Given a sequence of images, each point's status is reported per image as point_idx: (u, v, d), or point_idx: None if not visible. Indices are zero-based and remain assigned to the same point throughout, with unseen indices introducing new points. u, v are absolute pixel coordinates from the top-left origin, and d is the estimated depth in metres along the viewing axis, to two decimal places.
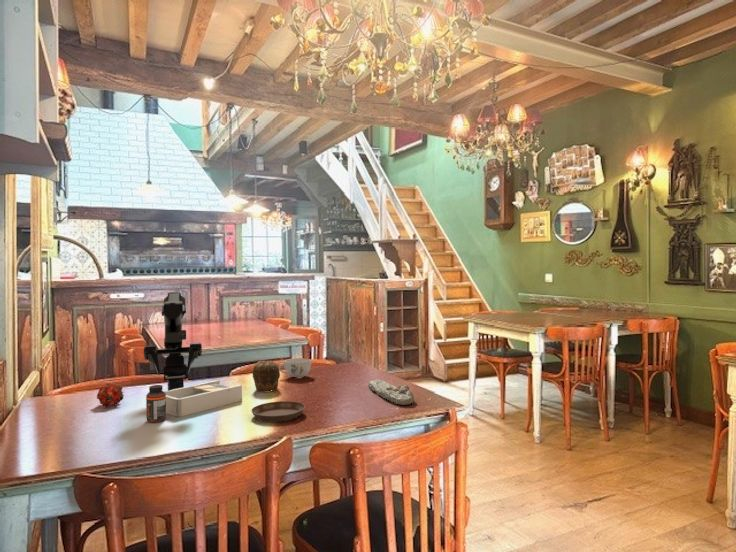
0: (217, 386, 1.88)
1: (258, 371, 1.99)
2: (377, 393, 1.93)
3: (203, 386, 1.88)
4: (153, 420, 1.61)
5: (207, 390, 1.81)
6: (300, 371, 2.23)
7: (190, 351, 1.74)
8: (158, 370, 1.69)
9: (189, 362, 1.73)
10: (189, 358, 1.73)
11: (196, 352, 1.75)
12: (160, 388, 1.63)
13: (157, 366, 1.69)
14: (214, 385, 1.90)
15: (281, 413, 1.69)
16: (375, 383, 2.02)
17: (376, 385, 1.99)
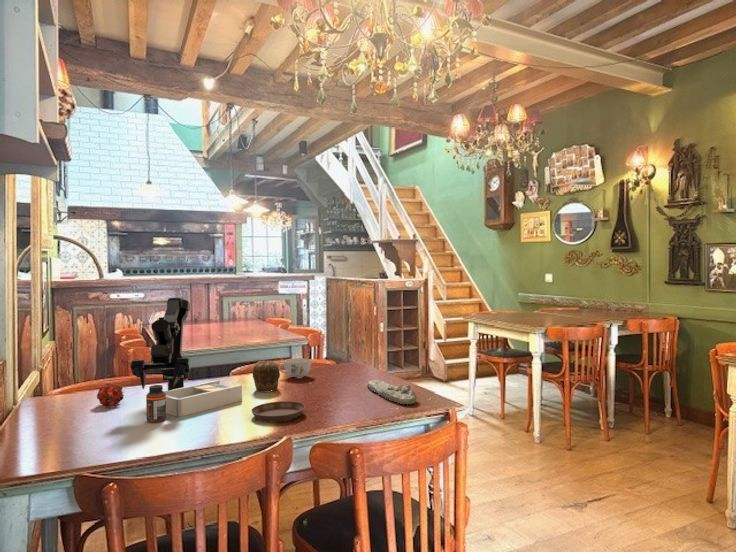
0: (217, 386, 1.88)
1: (258, 371, 1.99)
2: (378, 393, 1.93)
3: (203, 386, 1.88)
4: (153, 420, 1.61)
5: (207, 390, 1.81)
6: (300, 371, 2.23)
7: (176, 365, 1.70)
8: (142, 384, 1.66)
9: (174, 376, 1.69)
10: (175, 372, 1.70)
11: (182, 367, 1.71)
12: (160, 388, 1.63)
13: (142, 380, 1.67)
14: (214, 385, 1.90)
15: (281, 413, 1.69)
16: (374, 383, 2.02)
17: (376, 385, 1.99)
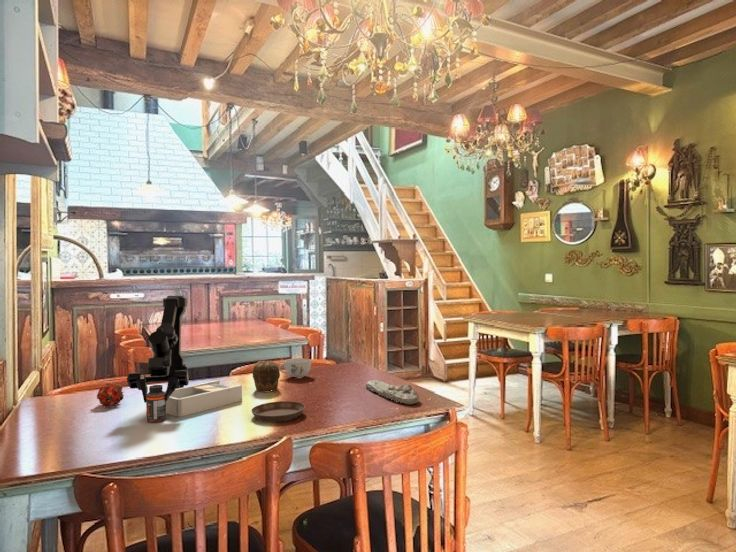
0: (217, 386, 1.88)
1: (258, 371, 1.99)
2: (378, 393, 1.92)
3: (203, 386, 1.88)
4: (153, 420, 1.61)
5: (207, 390, 1.81)
6: (300, 371, 2.23)
7: (169, 378, 1.66)
8: (144, 397, 1.62)
9: (168, 390, 1.64)
10: (168, 386, 1.65)
11: (176, 380, 1.67)
12: (160, 388, 1.63)
13: (144, 393, 1.63)
14: (214, 385, 1.90)
15: (281, 413, 1.69)
16: (373, 383, 2.01)
17: (375, 385, 1.98)
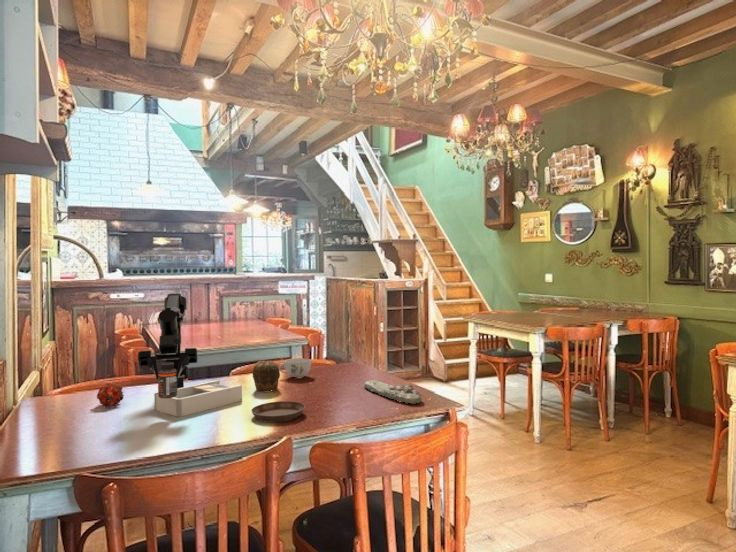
0: (217, 386, 1.88)
1: (258, 371, 1.99)
2: (379, 394, 1.92)
3: (203, 386, 1.88)
4: (166, 396, 1.64)
5: (207, 390, 1.81)
6: (300, 371, 2.23)
7: (180, 356, 1.69)
8: (156, 374, 1.65)
9: (179, 367, 1.68)
10: (179, 363, 1.69)
11: (187, 357, 1.71)
12: (172, 365, 1.66)
13: (155, 370, 1.66)
14: (214, 385, 1.90)
15: (281, 413, 1.69)
16: (372, 384, 2.01)
17: (375, 386, 1.98)
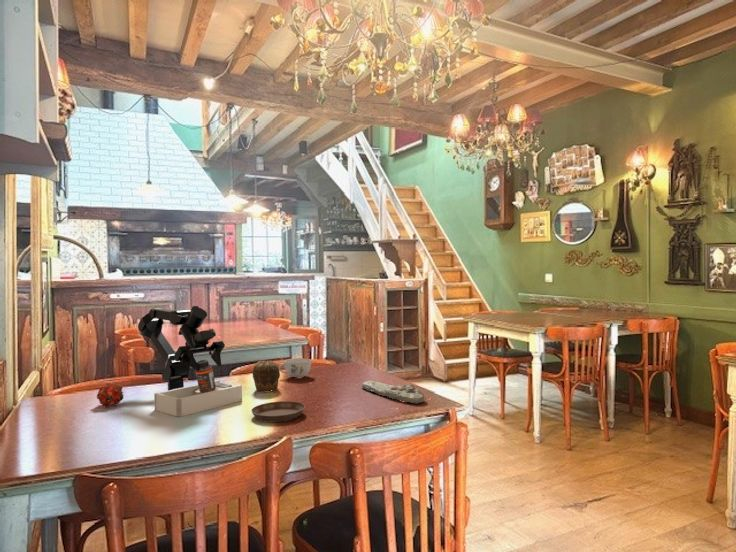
0: (217, 386, 1.88)
1: (258, 371, 1.99)
2: (380, 394, 1.92)
3: None
4: (211, 389, 1.83)
5: None
6: (300, 371, 2.23)
7: (218, 348, 1.90)
8: (197, 366, 1.80)
9: (219, 357, 1.89)
10: (218, 354, 1.89)
11: (221, 349, 1.92)
12: None
13: (195, 363, 1.81)
14: None
15: (281, 413, 1.69)
16: (371, 384, 2.00)
17: (374, 386, 1.98)
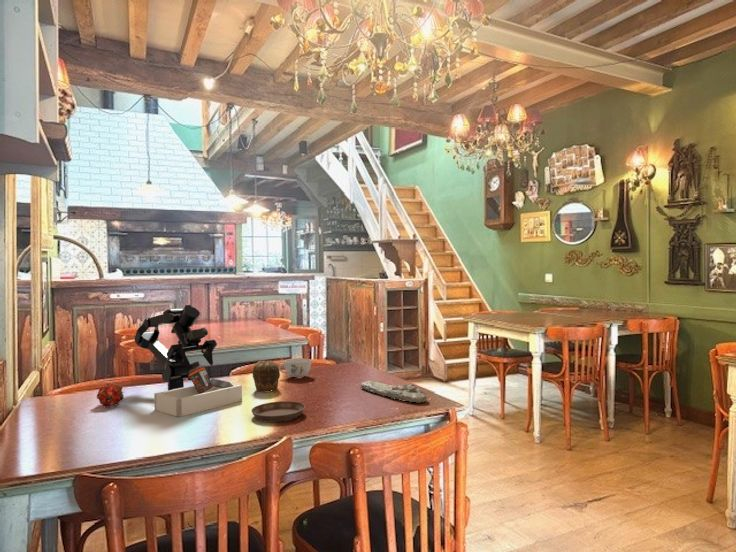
0: (216, 385, 1.88)
1: (258, 371, 1.99)
2: (380, 394, 1.92)
3: (205, 391, 1.88)
4: (206, 387, 1.83)
5: None
6: (300, 371, 2.23)
7: (210, 346, 1.93)
8: (189, 364, 1.84)
9: (211, 356, 1.92)
10: (210, 352, 1.93)
11: (213, 347, 1.95)
12: (198, 362, 1.86)
13: (187, 361, 1.84)
14: (213, 384, 1.89)
15: (281, 413, 1.69)
16: (371, 384, 2.00)
17: (374, 386, 1.97)
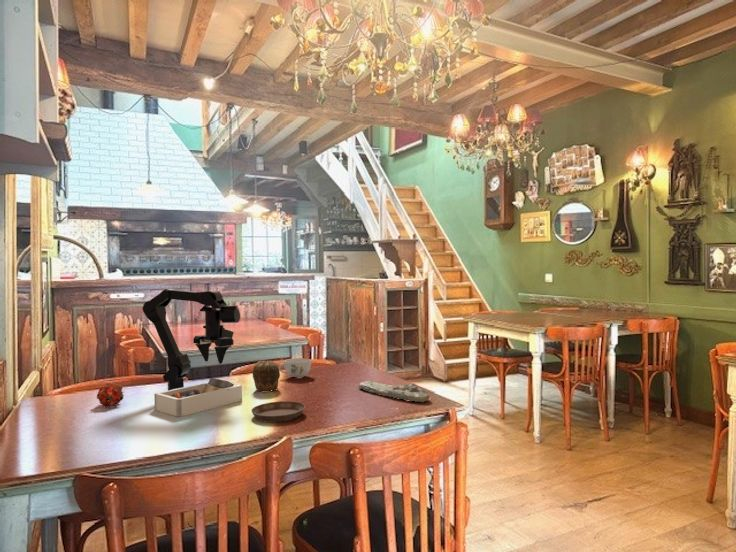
0: (216, 385, 1.88)
1: (258, 371, 1.99)
2: (381, 394, 1.91)
3: None
4: None
5: None
6: (300, 371, 2.23)
7: None
8: None
9: None
10: None
11: None
12: None
13: None
14: (213, 384, 1.89)
15: (281, 413, 1.69)
16: (370, 385, 1.99)
17: (374, 386, 1.97)
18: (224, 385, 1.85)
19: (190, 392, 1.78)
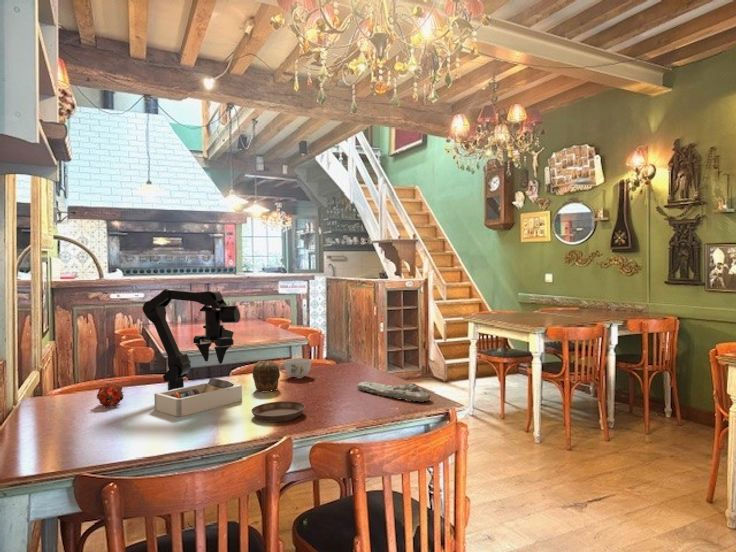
0: (216, 385, 1.88)
1: (258, 371, 1.99)
2: (381, 394, 1.91)
3: None
4: None
5: None
6: (300, 371, 2.23)
7: None
8: None
9: None
10: None
11: None
12: None
13: None
14: (213, 384, 1.89)
15: (281, 413, 1.69)
16: (369, 385, 1.99)
17: (373, 387, 1.96)
18: (224, 385, 1.85)
19: (189, 391, 1.79)
